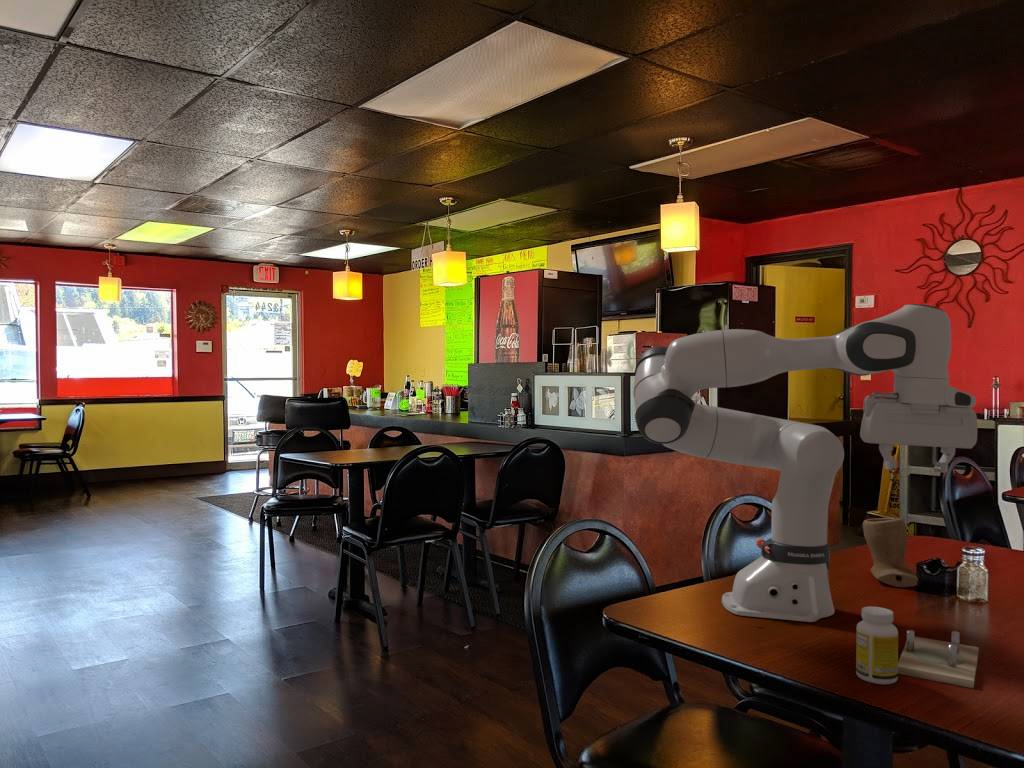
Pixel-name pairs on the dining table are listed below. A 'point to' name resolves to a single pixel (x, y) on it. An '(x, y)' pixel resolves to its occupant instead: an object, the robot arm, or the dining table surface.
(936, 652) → the light wood flat board
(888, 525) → the tan boot
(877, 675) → the pill bottle
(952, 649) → the header pins
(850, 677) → the dining table surface
